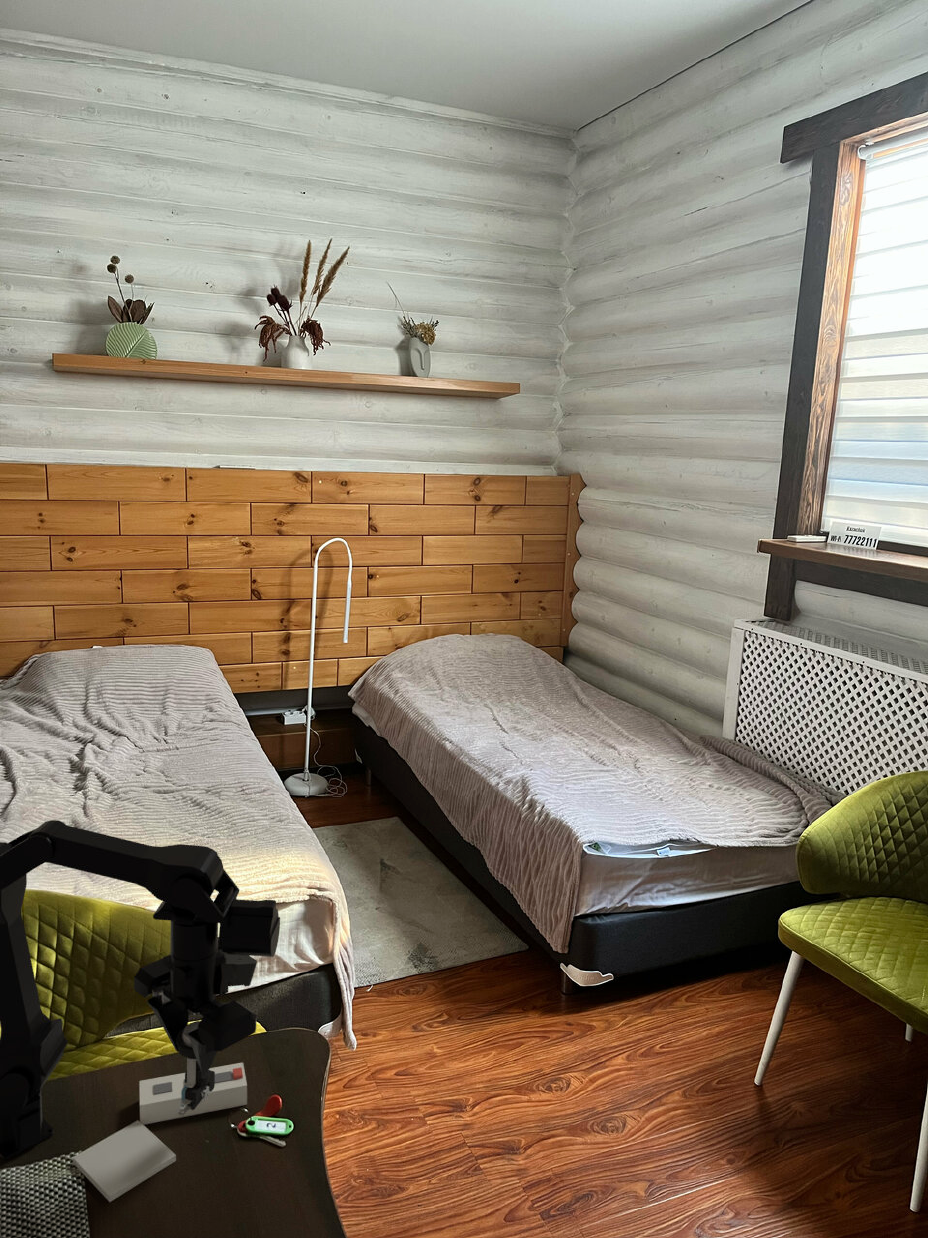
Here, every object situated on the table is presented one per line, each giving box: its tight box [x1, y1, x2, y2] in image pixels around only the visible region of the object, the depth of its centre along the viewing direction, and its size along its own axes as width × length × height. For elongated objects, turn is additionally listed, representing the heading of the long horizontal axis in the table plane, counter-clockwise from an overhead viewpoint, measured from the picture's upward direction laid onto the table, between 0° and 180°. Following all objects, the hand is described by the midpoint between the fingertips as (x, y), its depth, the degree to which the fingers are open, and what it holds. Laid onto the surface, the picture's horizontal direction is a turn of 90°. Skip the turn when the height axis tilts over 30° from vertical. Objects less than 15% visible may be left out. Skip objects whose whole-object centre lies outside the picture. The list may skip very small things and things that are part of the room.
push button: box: [176, 1020, 215, 1116], centre depth 118 cm, size 7×5×10 cm
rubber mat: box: [72, 1119, 177, 1203], centre depth 116 cm, size 9×9×1 cm
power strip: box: [139, 1062, 248, 1126], centre depth 127 cm, size 14×5×4 cm, turn 110°
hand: (192, 1060), depth 118 cm, fingers closed on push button, 5 cm apart
